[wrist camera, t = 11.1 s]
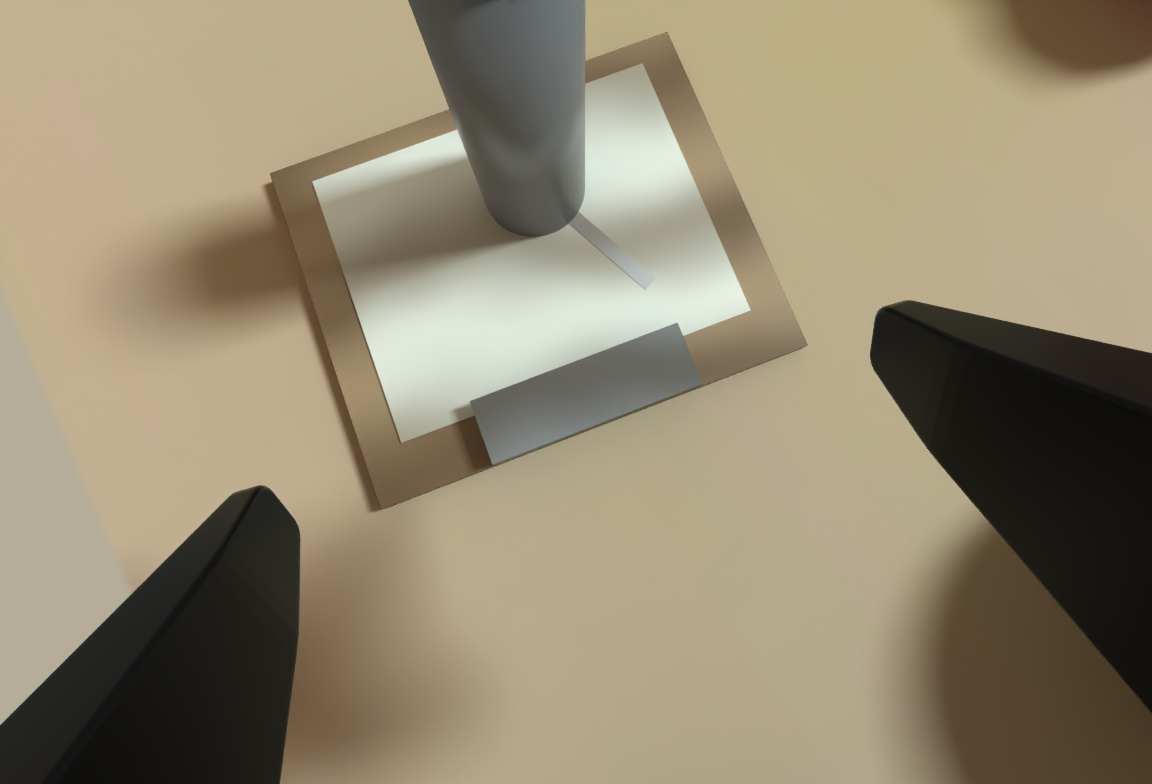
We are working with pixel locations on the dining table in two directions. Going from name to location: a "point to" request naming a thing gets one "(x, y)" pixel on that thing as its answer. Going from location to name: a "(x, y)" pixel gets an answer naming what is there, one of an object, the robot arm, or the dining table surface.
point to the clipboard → (531, 282)
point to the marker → (515, 101)
